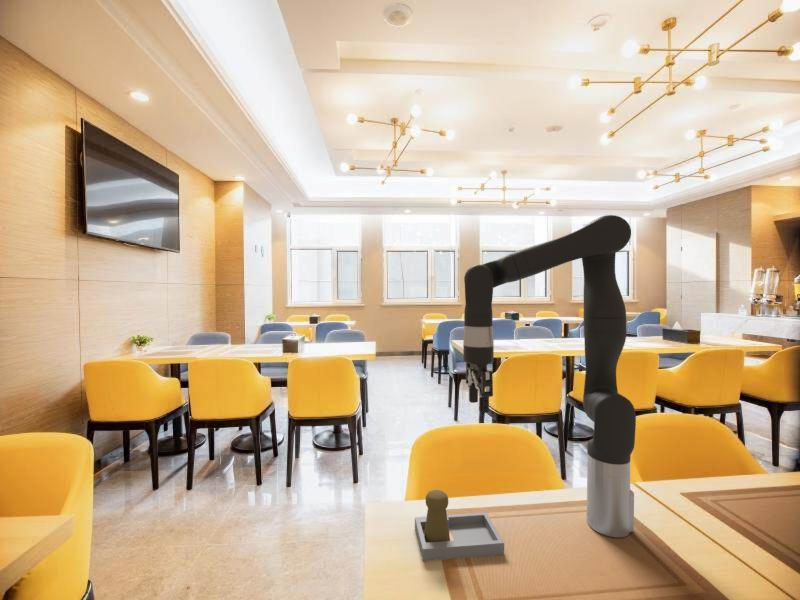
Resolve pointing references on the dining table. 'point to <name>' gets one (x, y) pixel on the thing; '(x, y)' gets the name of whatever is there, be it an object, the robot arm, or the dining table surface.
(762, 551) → the dining table surface
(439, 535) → the olive pawn piece
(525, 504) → the dining table surface
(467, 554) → the grey shallow tray
